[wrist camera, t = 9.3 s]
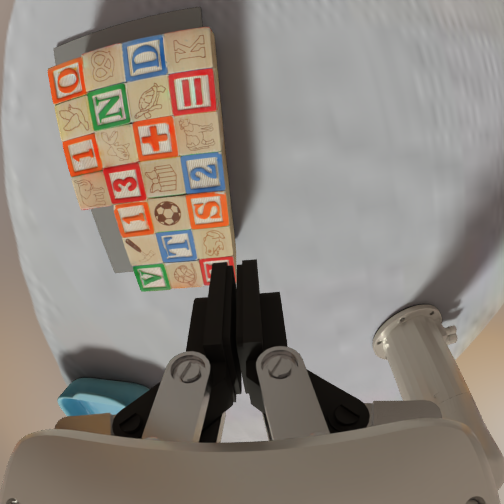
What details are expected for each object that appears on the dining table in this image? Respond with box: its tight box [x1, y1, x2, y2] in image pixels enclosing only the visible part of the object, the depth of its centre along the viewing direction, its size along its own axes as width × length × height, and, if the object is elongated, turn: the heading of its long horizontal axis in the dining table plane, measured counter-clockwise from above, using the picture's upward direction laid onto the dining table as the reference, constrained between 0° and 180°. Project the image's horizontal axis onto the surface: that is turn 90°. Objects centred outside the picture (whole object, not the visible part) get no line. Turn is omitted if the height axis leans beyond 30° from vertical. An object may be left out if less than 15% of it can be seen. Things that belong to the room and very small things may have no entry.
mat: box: [54, 7, 203, 273], centre depth 27 cm, size 14×26×1 cm, turn 5°
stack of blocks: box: [48, 27, 237, 292], centre depth 24 cm, size 21×6×12 cm
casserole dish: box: [58, 378, 150, 416], centre depth 54 cm, size 37×22×7 cm, turn 178°
